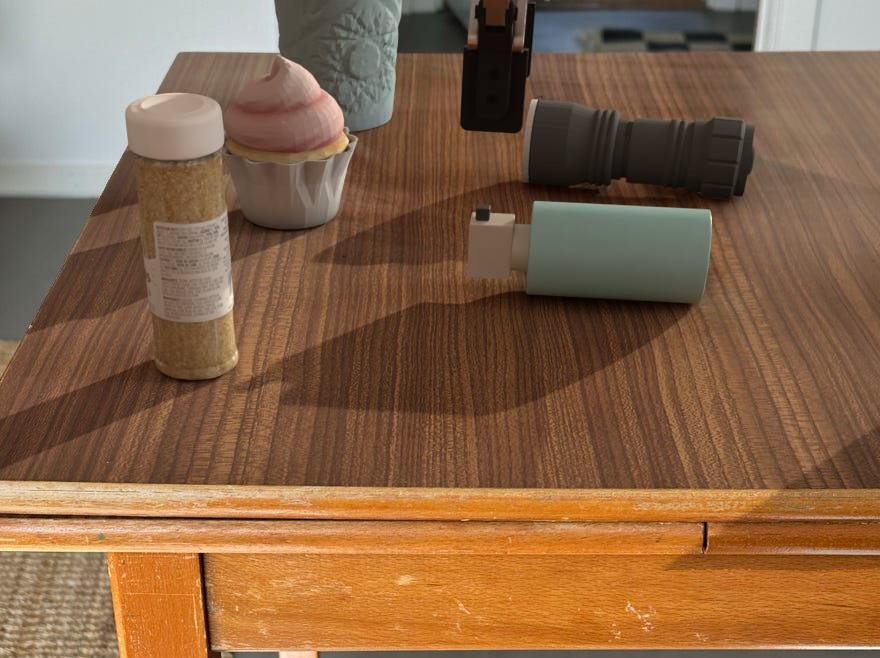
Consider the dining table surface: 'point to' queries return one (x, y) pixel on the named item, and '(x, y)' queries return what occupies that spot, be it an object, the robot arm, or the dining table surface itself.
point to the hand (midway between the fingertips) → (496, 102)
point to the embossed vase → (345, 52)
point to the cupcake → (287, 149)
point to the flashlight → (635, 150)
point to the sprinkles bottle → (184, 232)
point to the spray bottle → (596, 250)
